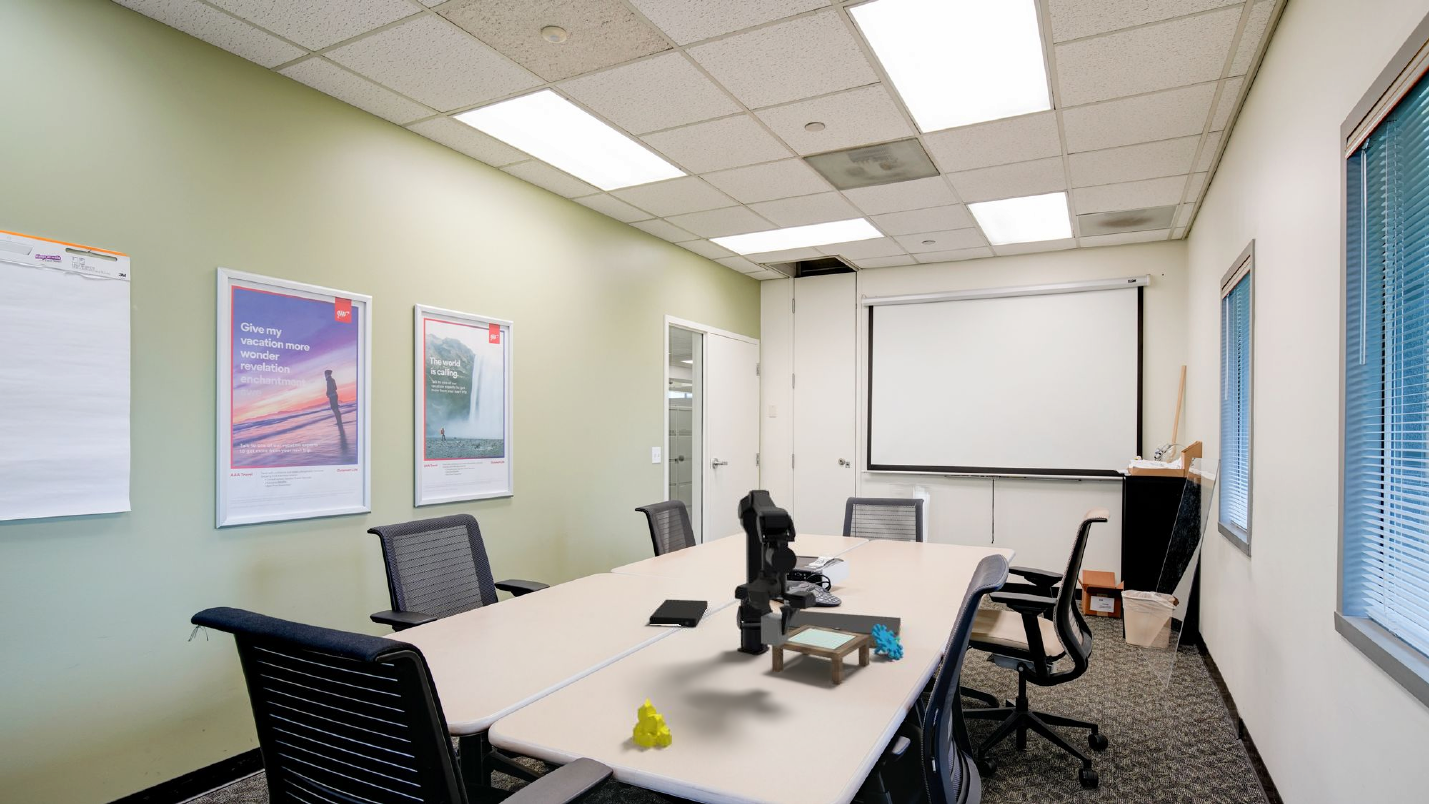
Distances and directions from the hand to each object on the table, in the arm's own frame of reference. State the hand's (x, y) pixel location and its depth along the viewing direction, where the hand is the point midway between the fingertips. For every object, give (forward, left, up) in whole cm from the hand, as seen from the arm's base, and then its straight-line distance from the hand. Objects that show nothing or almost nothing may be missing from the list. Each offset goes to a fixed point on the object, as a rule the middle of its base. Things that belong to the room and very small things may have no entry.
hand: (774, 633), depth 161 cm
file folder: (-6, +49, -13) cm, 51 cm away
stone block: (0, 0, -2) cm, 2 cm away
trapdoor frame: (+3, +18, -12) cm, 22 cm away
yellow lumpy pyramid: (-5, -38, -12) cm, 40 cm away
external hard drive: (-56, +36, -13) cm, 68 cm away
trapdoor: (+3, +18, -6) cm, 19 cm away
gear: (+13, +36, -12) cm, 40 cm away
